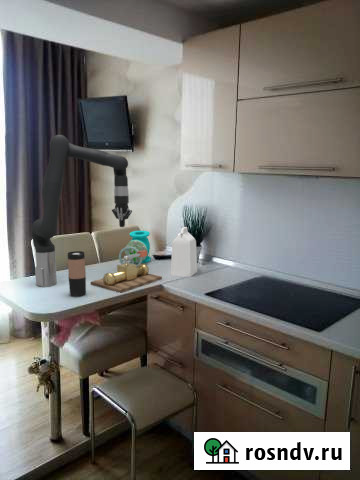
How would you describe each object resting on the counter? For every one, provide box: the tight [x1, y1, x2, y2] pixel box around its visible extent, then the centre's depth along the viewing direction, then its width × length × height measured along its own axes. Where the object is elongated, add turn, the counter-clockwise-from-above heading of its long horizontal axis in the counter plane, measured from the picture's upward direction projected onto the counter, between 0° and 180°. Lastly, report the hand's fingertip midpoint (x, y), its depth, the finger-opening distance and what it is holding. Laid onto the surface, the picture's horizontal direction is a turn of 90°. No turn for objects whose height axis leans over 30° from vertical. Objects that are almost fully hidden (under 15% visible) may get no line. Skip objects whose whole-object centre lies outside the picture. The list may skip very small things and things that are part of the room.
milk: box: [170, 226, 198, 278], centre depth 217 cm, size 12×12×26 cm
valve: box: [118, 230, 152, 267], centre depth 238 cm, size 14×18×30 cm
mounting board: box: [90, 273, 163, 294], centre depth 202 cm, size 30×22×2 cm
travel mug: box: [67, 250, 87, 298], centre depth 180 cm, size 8×8×20 cm
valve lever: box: [123, 250, 147, 260], centre depth 205 cm, size 3×16×3 cm, turn 143°
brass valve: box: [102, 259, 149, 286], centre depth 201 cm, size 28×7×11 cm, turn 142°
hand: (122, 226), depth 211 cm, fingers closed
